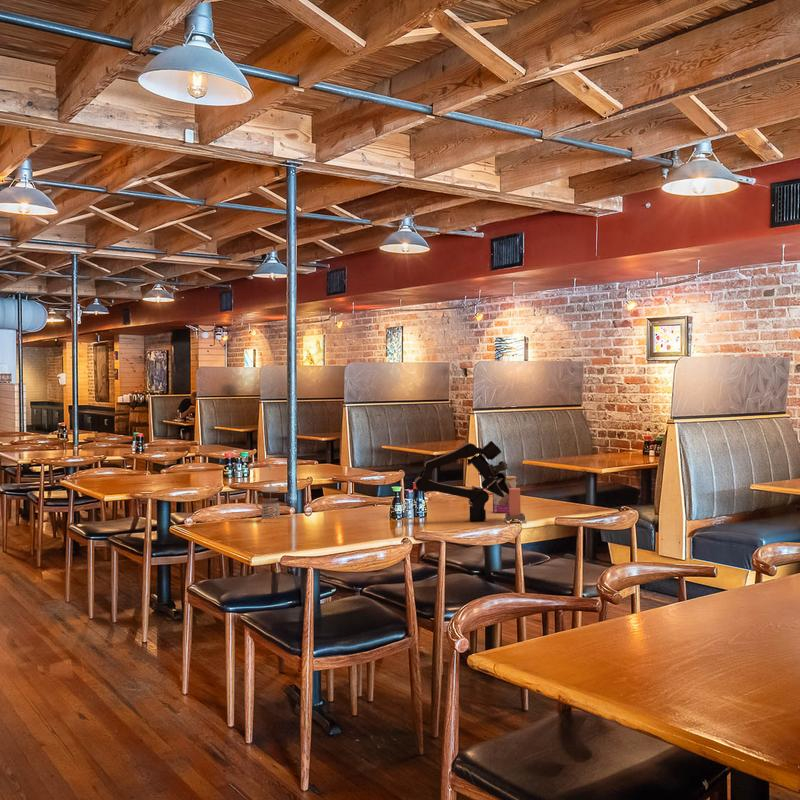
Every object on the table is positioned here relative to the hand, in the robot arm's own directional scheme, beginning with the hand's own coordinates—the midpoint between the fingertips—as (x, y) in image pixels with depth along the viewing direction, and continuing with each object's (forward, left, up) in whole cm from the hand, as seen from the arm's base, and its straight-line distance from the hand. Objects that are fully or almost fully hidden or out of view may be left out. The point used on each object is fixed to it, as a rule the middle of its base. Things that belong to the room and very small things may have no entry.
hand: (506, 495), depth 353 cm
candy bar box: (+1, +28, -11) cm, 30 cm away
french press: (-104, +11, -11) cm, 105 cm away
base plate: (+3, +1, -11) cm, 12 cm away
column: (+3, +1, -10) cm, 11 cm away
